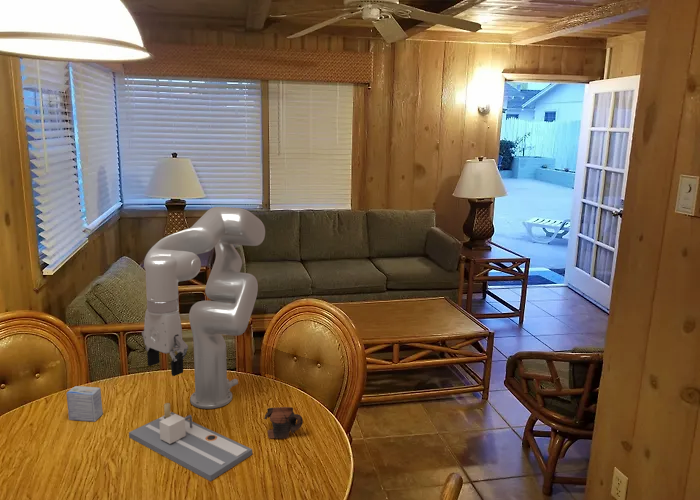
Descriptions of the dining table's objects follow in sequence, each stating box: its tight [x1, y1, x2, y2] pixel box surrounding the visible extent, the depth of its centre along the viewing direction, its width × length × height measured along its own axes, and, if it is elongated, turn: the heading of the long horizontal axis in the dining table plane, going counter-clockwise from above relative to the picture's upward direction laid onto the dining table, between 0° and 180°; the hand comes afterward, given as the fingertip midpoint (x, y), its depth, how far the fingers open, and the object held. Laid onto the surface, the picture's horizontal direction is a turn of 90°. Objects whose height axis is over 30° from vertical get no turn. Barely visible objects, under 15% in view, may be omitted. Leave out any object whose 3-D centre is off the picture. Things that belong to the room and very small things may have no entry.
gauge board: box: [128, 402, 253, 482], centre depth 146 cm, size 14×32×6 cm, turn 56°
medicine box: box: [66, 385, 104, 422], centre depth 158 cm, size 8×4×9 cm, turn 84°
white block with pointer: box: [159, 413, 193, 444], centre depth 148 cm, size 9×4×5 cm, turn 146°
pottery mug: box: [263, 406, 304, 440], centre depth 155 cm, size 12×10×8 cm
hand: (165, 369), depth 143 cm, fingers open, 9 cm apart
